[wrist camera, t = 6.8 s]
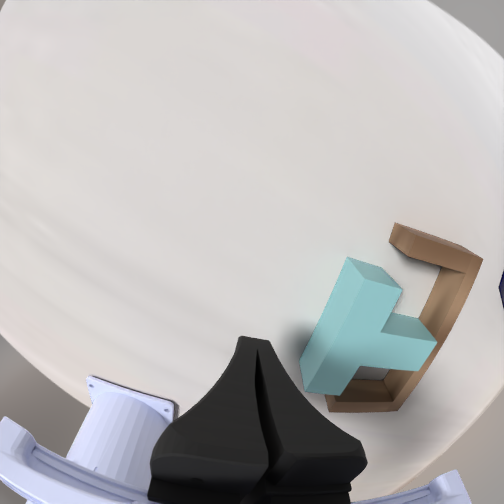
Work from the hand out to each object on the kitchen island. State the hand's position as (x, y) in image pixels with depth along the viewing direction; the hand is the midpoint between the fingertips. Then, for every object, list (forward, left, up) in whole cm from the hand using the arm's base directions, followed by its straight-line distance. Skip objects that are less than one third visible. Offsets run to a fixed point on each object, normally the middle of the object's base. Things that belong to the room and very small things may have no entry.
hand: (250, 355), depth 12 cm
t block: (0, -8, -5) cm, 10 cm away
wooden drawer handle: (0, -10, -5) cm, 11 cm away
